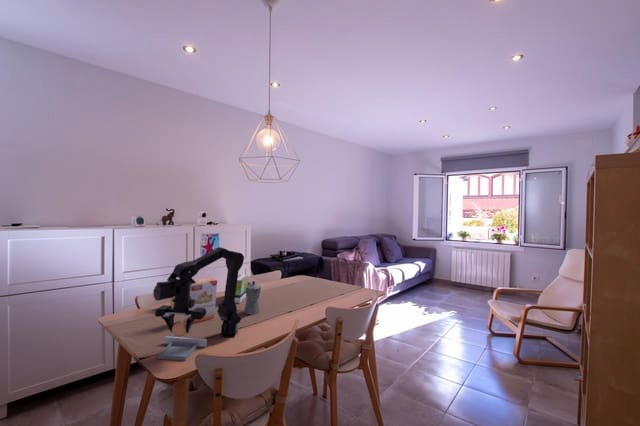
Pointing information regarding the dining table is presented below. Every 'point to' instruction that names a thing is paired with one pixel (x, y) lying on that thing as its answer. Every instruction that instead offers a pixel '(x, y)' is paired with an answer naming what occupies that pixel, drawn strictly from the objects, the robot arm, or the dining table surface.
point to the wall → (186, 341)
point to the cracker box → (204, 297)
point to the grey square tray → (177, 351)
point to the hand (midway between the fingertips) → (179, 332)
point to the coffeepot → (252, 298)
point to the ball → (179, 328)
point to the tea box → (241, 288)
